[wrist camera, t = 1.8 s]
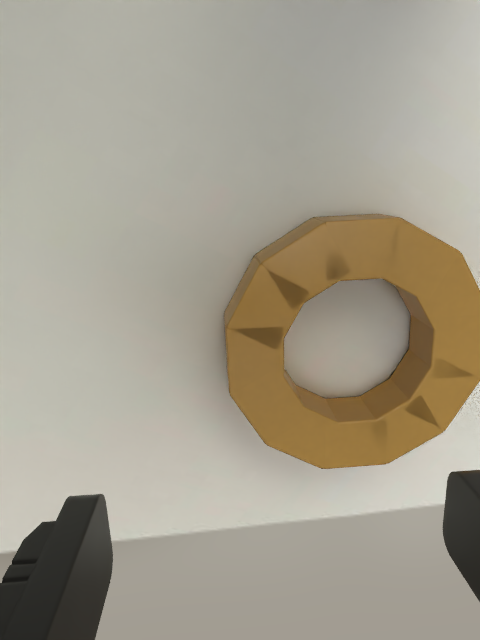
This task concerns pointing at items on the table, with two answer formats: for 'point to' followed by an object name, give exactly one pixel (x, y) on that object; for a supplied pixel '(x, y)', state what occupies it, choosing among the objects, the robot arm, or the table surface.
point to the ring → (410, 375)
